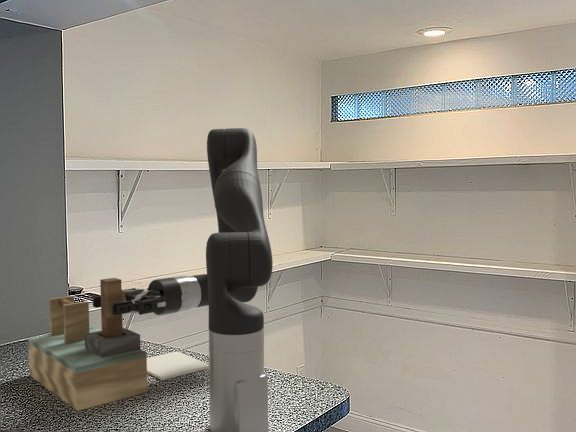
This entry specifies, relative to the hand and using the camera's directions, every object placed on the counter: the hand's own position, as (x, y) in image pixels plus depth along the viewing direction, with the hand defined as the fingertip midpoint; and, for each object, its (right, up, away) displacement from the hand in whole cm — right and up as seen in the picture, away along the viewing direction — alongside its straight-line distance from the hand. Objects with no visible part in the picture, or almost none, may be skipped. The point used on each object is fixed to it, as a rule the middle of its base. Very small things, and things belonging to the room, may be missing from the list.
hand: (102, 305), depth 117 cm
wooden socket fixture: (-5, -17, +5) cm, 18 cm away
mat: (+10, -16, +16) cm, 25 cm away
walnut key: (+1, -9, +2) cm, 9 cm away
